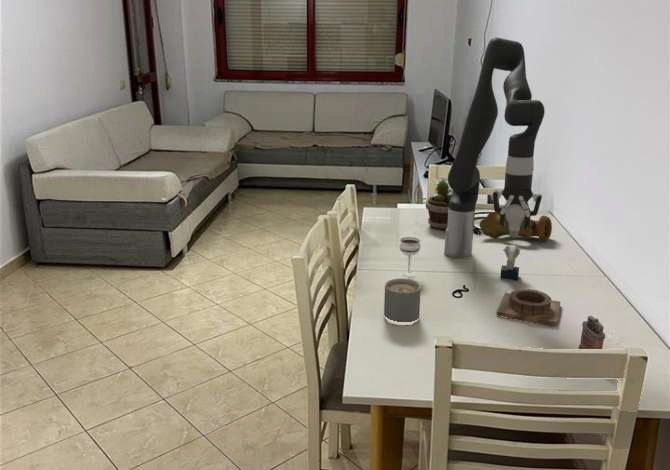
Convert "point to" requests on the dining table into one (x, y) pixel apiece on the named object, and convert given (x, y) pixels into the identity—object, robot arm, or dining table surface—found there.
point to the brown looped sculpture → (536, 228)
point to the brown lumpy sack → (592, 334)
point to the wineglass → (409, 247)
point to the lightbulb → (514, 219)
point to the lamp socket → (529, 307)
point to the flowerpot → (439, 207)
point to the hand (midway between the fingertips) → (514, 226)
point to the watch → (510, 263)
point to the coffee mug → (402, 300)
